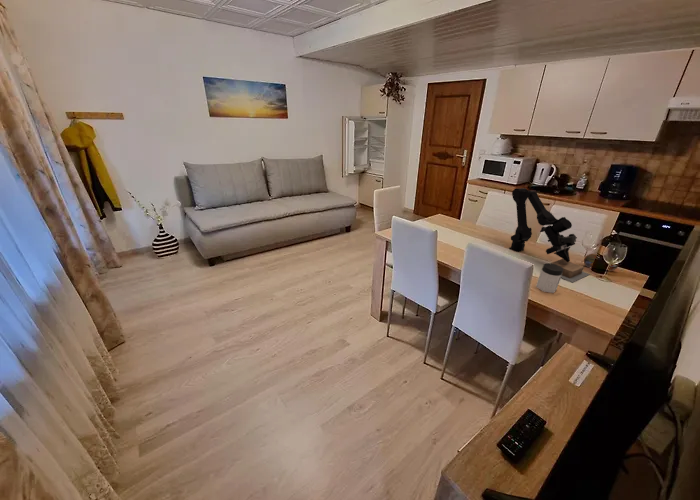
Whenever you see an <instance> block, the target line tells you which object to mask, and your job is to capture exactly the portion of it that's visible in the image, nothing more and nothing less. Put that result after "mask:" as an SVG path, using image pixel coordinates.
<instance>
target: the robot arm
mask: <svg viewBox="0 0 700 500" xmlns="http://www.w3.org/2000/svg"><path fill="white" fill-rule="evenodd" d="M511 195H512V199H513V201H514V202H515V205H516V218H517V227H516V229H515V231H514V232H515V234H513V235H511V236H510V240H511V241H512V242H511V244H510V245H511V246H510V247H509V250H512V251H514V252H516V253H521V252H523V251H525V246H526V244H525V243H527V242H528V241H529V240H530V239H531V237H532V235H533V232H532V227H529V226H528V219H527V218H528V216H527V206H526V202H527V200H528V201H529V203H530V205H531V206H532V207H533V209H534V211H535V213H536V220H537V222H538V224H539V226H542V227H541V229H540V233H542V232H544V233H545V235H546V237H547V239H548V240H547V242H549V243H550V244H551V247H549V248H546V250H545V253H546V255H550V254H552V253H553V255H556V256H558V257H559V258H561V259H564V260H565V261H567V262H571V259H570V253H569V250H570V248H571V247H572V246H575V245H576V242H577V239H578V237H577V236H576V235H575V233H569V234H568V235H567V236H564V235H563V234H561V233H564V232H565V231H568V230H569V229H571V228H572V226H573V225H572V222H571V221H570V220H569V219H567V218H566V217H565V216H564V217H563V216H561V217H560V218H559V219H557V218H556V217H555V216H554V214H553V213H552V212H551V211H549V210H547V208H546V206H545V205H544V203H543V202H542V200H541V199H540V197H539V195H538V192H537V191H536V190H531V189H527V188H525V187H524V188H523V187H521V188H519V187H517V188H514V189H513V190H512V193H511Z"/></svg>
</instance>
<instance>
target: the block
mask: <svg viewBox="0 0 700 500" xmlns="http://www.w3.org/2000/svg"><path fill="white" fill-rule="evenodd" d="M551 264H556V265H558V266H560V267H562V268H563V273H562V275H563V276H565V277H568V278H572V277H574V276H577V275H579V274H581V273H582V271H583V272H584V268H585V267H584V266H583V265H580V264H577V263H574V262H572V261H569V262H567V261H565V260H564V259H562V258H561V259H559V260H556V261H553V262H551Z"/></svg>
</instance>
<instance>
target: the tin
mask: <svg viewBox="0 0 700 500" xmlns="http://www.w3.org/2000/svg"><path fill="white" fill-rule="evenodd" d="M597 254H598V253H589V254H587V255H585V257H584V259H583V263H584V265H585V267H587V268H588V267H592V265H593V262H594V260H595V258H596V256H597ZM619 265H620V264H619V262H618V264H617V265H611V266H610V268H609V271H608V272H612V271H615V270H616V269H618V267H619Z"/></svg>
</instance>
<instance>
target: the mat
mask: <svg viewBox="0 0 700 500" xmlns="http://www.w3.org/2000/svg"><path fill="white" fill-rule="evenodd" d="M588 276H591V274H590V273H587V272H584V270H583V271H582V273H581V274H579V275H577V276H574V277H572V278H568V277H565V276H563V275H562V276H561V279H562V280H565V281H567V282H569V283H572V284H573V283H576V282H577V281H579V280H581V279H582V280H583V279H585V278H586V277H588Z"/></svg>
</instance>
